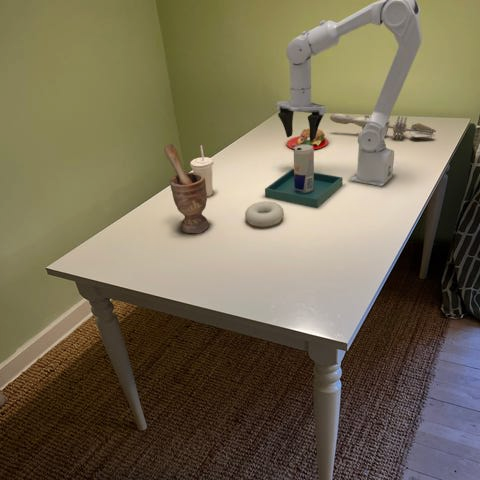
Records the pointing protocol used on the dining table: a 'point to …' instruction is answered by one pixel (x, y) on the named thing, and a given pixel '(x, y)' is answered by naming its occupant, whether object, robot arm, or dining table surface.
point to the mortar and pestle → (188, 194)
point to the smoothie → (204, 170)
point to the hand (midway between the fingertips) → (301, 137)
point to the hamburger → (308, 140)
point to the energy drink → (303, 168)
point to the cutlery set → (399, 128)
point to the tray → (315, 198)
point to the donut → (264, 214)
